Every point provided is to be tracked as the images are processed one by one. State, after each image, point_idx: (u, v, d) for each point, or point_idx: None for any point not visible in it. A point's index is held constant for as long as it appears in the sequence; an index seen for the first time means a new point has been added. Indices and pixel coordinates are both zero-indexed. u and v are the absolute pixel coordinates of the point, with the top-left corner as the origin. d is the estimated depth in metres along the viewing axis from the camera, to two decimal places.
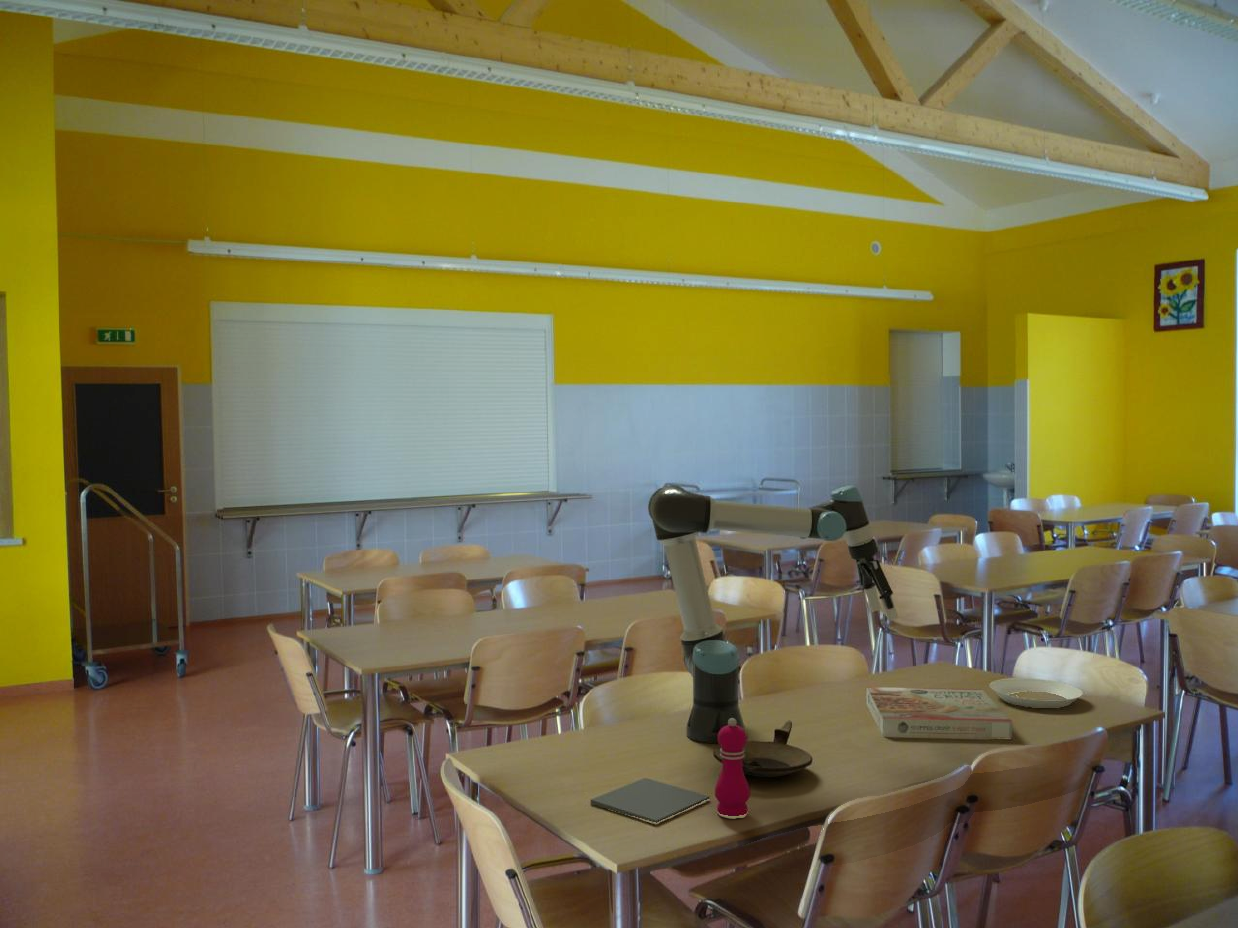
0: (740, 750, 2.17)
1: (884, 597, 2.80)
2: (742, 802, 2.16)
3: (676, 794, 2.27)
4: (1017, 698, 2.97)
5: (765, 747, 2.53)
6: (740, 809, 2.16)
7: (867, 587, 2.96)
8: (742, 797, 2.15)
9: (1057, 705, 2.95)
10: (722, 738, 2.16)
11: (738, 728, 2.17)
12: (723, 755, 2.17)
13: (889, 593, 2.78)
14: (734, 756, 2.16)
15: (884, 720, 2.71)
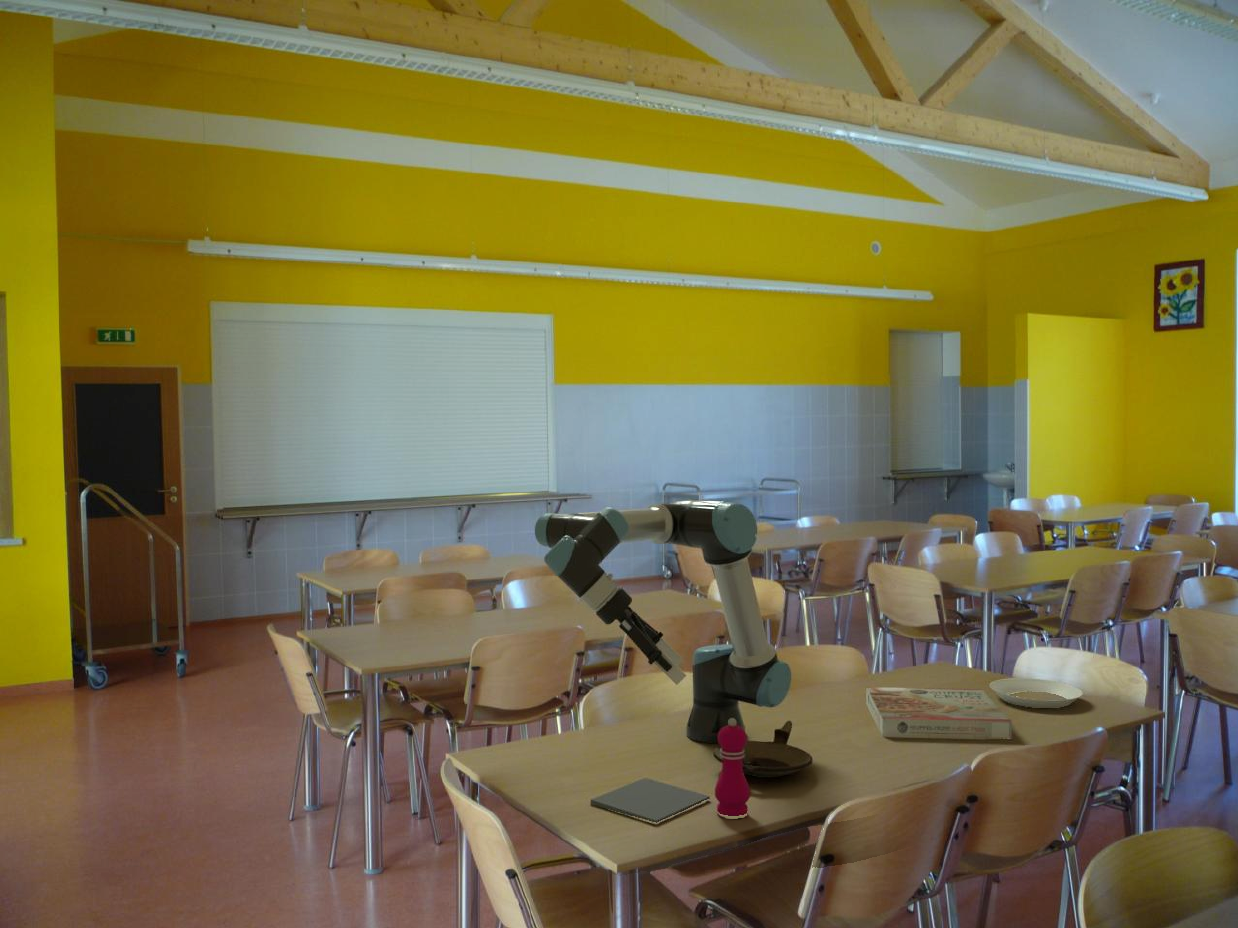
0: (740, 750, 2.17)
1: (654, 660, 2.10)
2: (742, 802, 2.16)
3: (676, 794, 2.27)
4: (1017, 698, 2.97)
5: (765, 747, 2.53)
6: (740, 809, 2.16)
7: (654, 642, 2.25)
8: (742, 797, 2.15)
9: (1057, 705, 2.95)
10: (722, 738, 2.16)
11: (738, 728, 2.17)
12: (723, 755, 2.17)
13: (654, 654, 2.08)
14: (734, 756, 2.16)
15: (884, 720, 2.71)
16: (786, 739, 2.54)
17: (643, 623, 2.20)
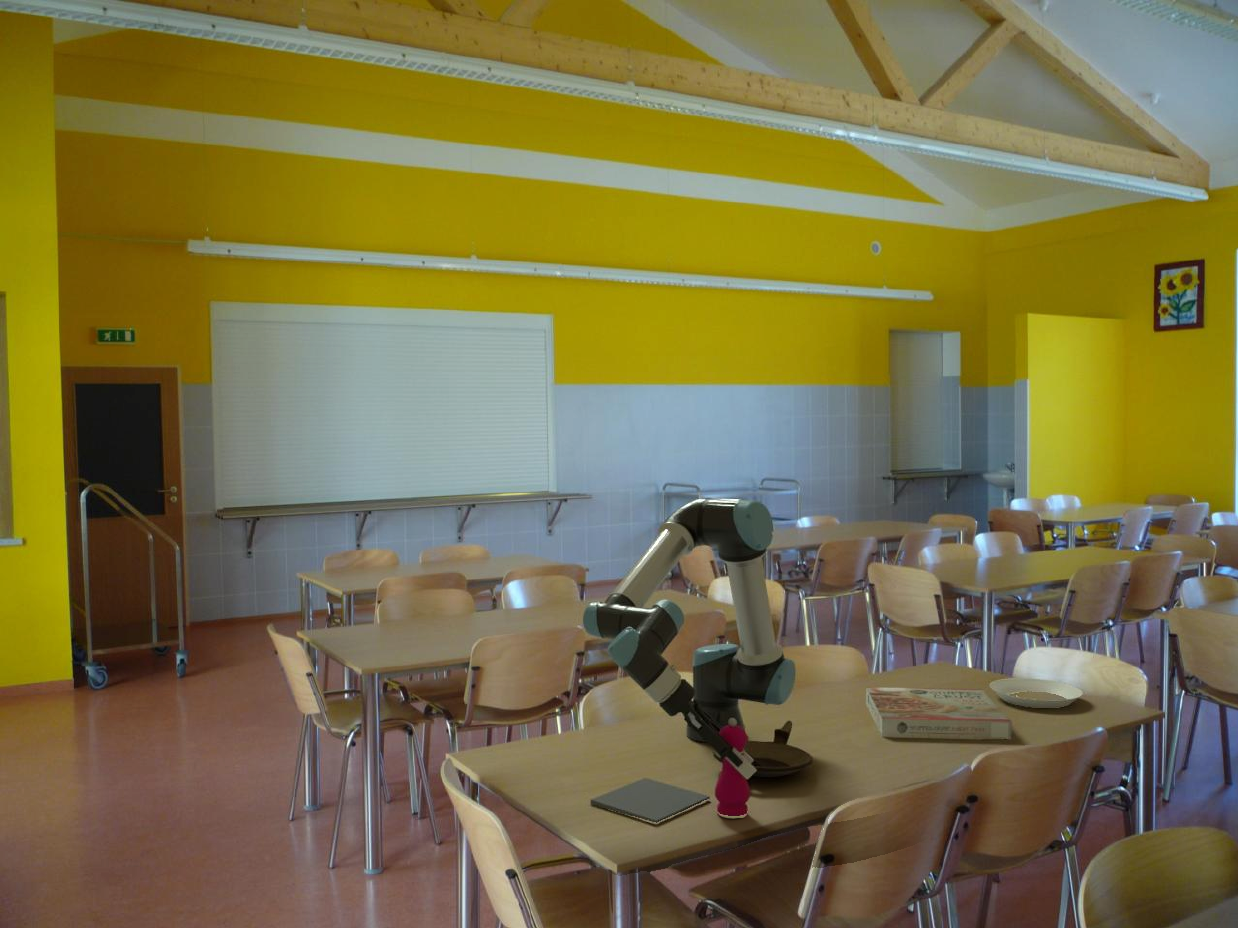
0: (740, 750, 2.17)
1: (726, 756, 2.14)
2: (742, 802, 2.16)
3: (676, 794, 2.27)
4: (1017, 698, 2.97)
5: (765, 747, 2.53)
6: (740, 809, 2.16)
7: None
8: (742, 797, 2.15)
9: (1057, 705, 2.95)
10: None
11: (738, 728, 2.17)
12: None
13: (726, 751, 2.12)
14: None
15: (883, 720, 2.71)
16: (786, 739, 2.54)
17: (707, 716, 2.20)
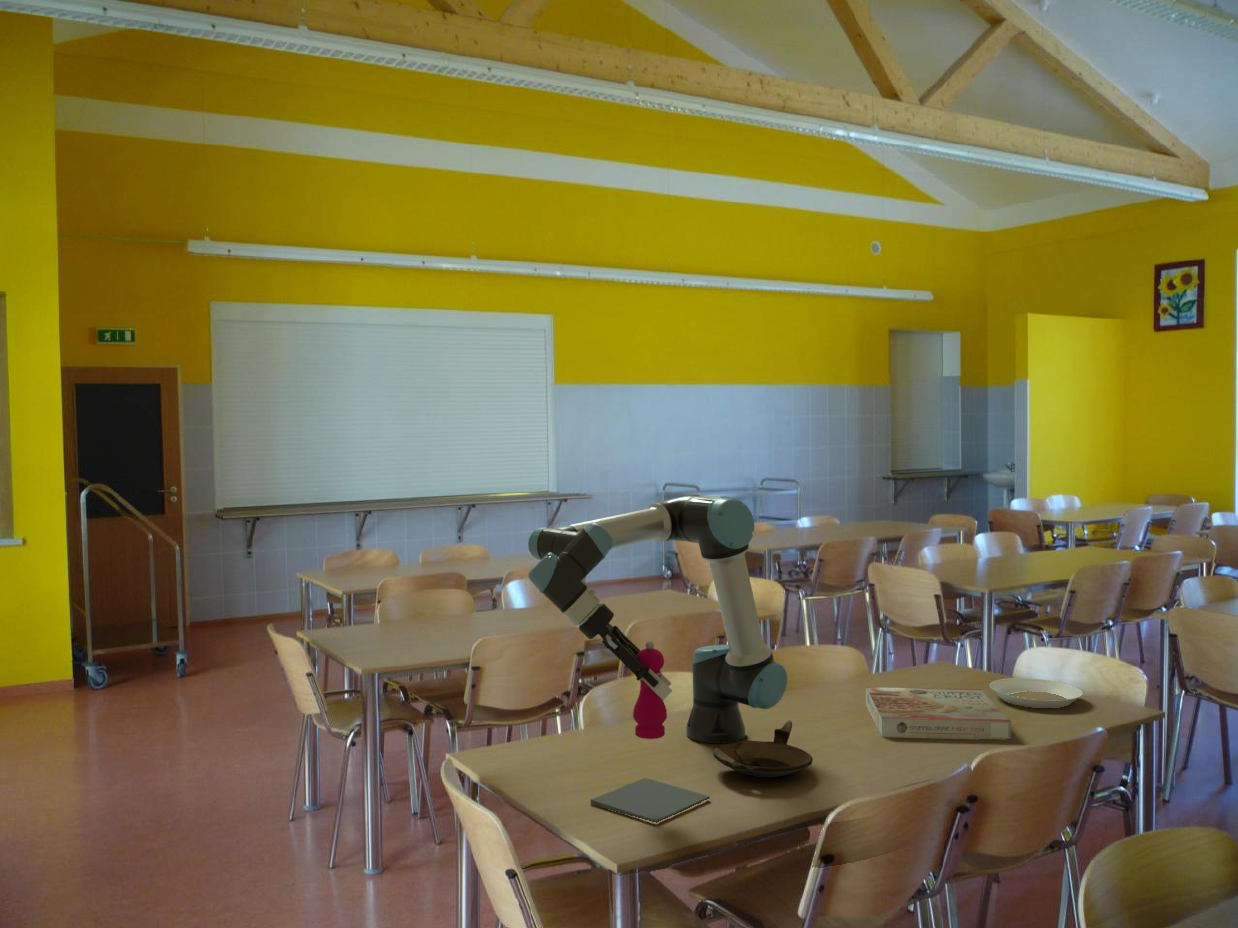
0: (657, 672, 2.23)
1: (642, 676, 2.20)
2: (658, 722, 2.22)
3: (676, 794, 2.27)
4: (1017, 698, 2.97)
5: (765, 747, 2.53)
6: (656, 729, 2.22)
7: None
8: (658, 717, 2.22)
9: (1057, 705, 2.95)
10: None
11: (655, 651, 2.23)
12: None
13: (642, 671, 2.18)
14: None
15: (883, 720, 2.71)
16: (786, 739, 2.54)
17: (626, 640, 2.26)
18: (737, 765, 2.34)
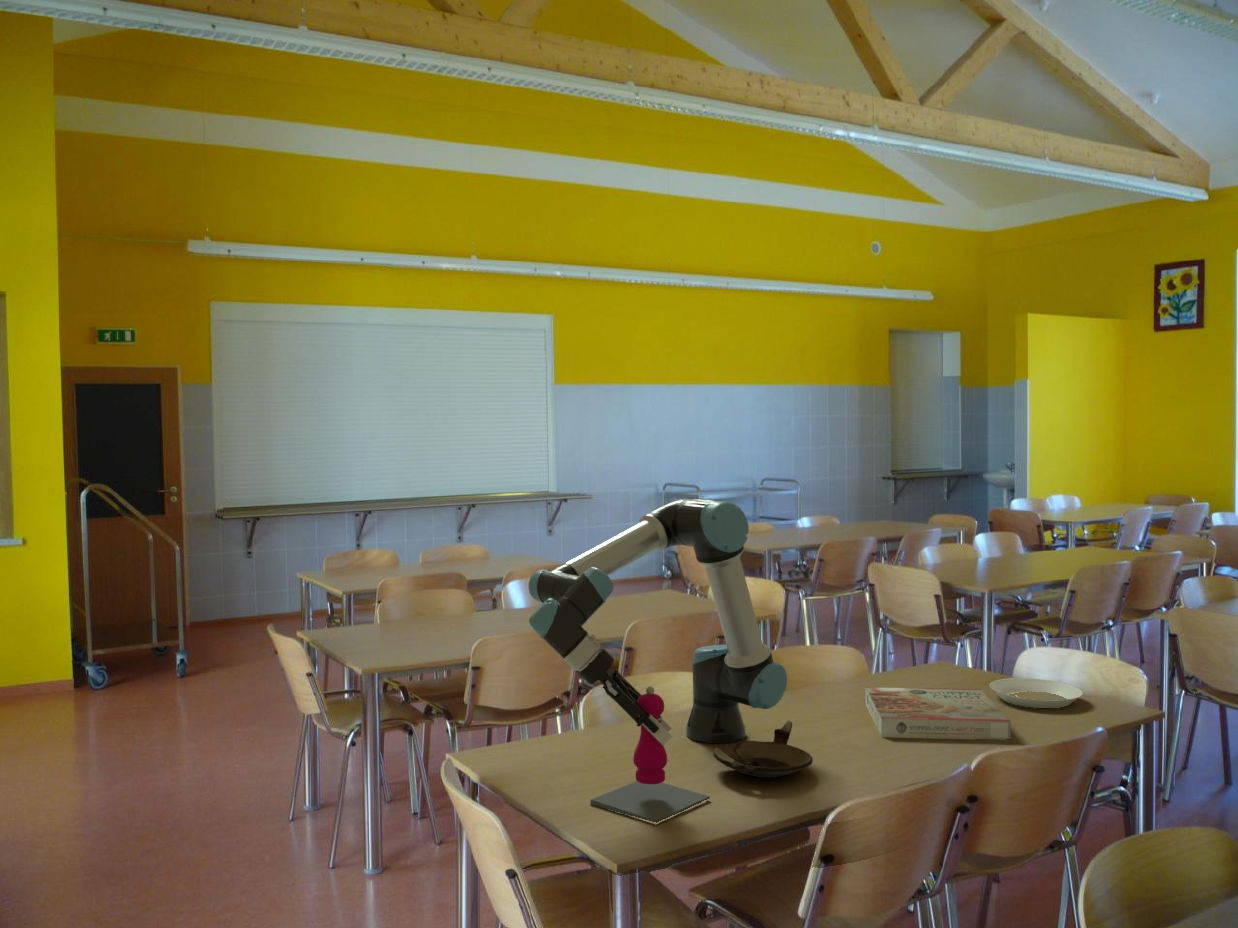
0: (657, 717, 2.23)
1: (642, 722, 2.21)
2: (659, 768, 2.22)
3: (676, 794, 2.27)
4: (1017, 698, 2.97)
5: (765, 747, 2.53)
6: (657, 774, 2.23)
7: None
8: (658, 763, 2.22)
9: (1057, 705, 2.95)
10: None
11: (655, 696, 2.24)
12: None
13: (642, 717, 2.18)
14: None
15: (882, 720, 2.71)
16: (786, 739, 2.54)
17: (626, 685, 2.26)
18: (737, 765, 2.34)
